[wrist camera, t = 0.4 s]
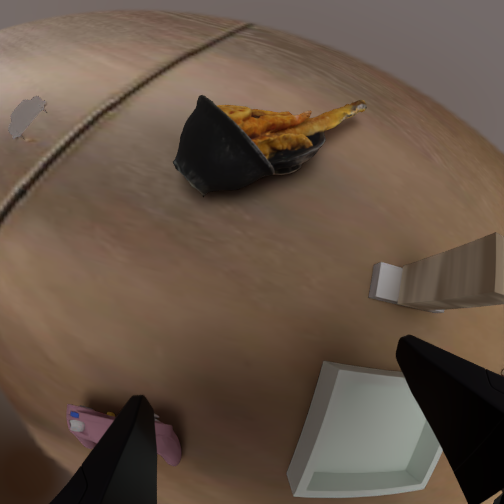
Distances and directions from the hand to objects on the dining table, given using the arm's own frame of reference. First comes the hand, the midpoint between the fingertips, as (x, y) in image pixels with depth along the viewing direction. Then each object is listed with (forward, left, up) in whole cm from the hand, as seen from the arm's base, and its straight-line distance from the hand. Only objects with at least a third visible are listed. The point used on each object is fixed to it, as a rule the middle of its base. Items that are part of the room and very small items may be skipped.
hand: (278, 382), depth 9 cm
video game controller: (+3, +14, -15) cm, 21 cm away
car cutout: (+39, +5, -15) cm, 42 cm away
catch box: (-14, 0, -14) cm, 20 cm away
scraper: (-8, -12, -14) cm, 20 cm away
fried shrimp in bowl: (+10, -14, -15) cm, 23 cm away
